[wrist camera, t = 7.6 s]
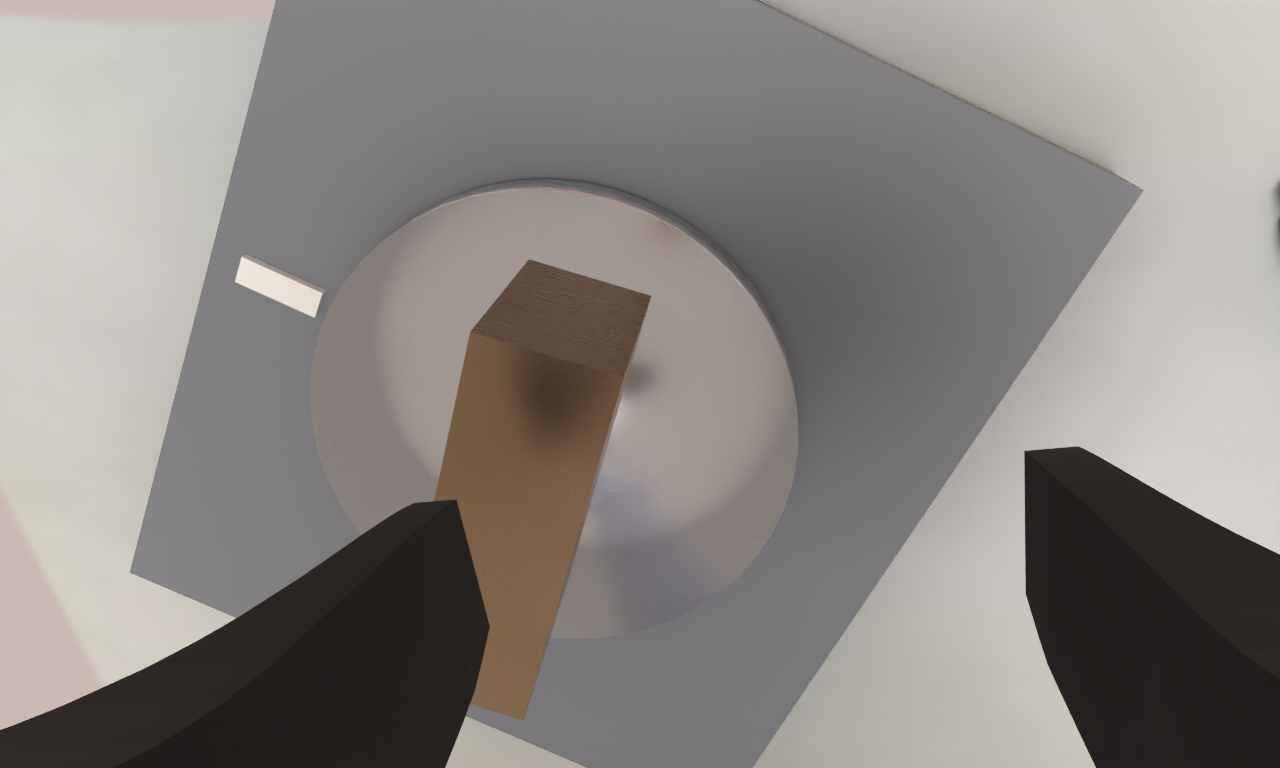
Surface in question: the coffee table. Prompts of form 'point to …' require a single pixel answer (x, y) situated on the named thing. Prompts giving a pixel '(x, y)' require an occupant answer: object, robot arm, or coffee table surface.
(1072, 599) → the robot arm
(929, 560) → the coffee table surface
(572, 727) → the dial base
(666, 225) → the dial
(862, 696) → the coffee table surface
